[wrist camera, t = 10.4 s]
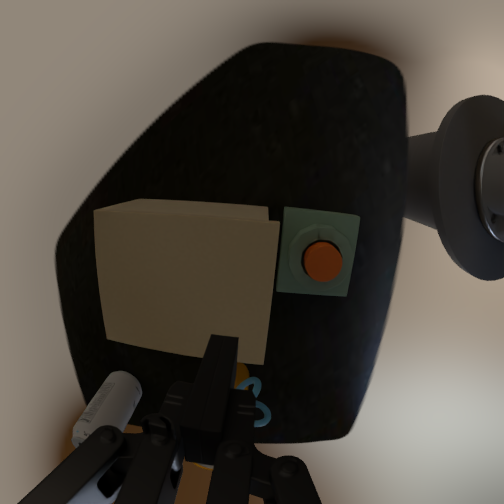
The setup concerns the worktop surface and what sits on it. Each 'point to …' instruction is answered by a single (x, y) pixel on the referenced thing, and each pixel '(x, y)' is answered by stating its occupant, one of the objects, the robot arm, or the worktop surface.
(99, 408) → the energy drink can
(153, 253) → the beige board
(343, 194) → the worktop surface
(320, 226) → the control block
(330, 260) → the button
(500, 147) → the robot arm
